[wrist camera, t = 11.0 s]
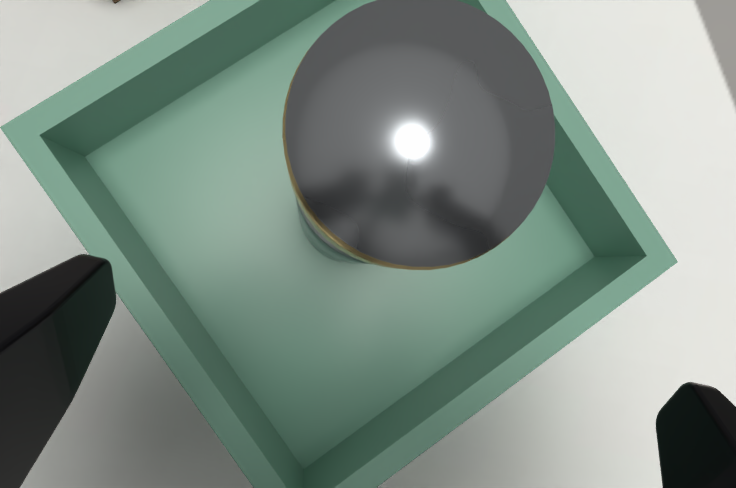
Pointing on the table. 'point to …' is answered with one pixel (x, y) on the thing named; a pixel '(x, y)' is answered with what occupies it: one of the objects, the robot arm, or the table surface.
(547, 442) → the table surface
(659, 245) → the parts tray
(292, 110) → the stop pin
